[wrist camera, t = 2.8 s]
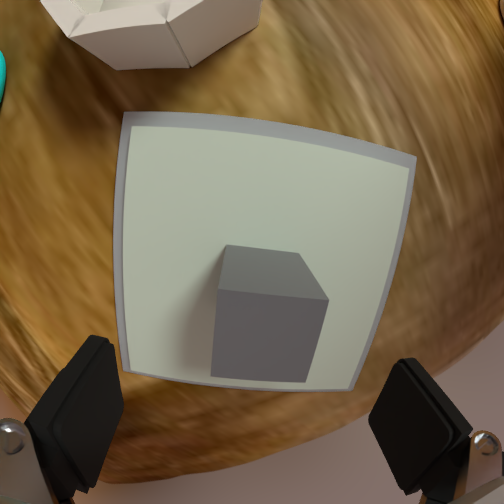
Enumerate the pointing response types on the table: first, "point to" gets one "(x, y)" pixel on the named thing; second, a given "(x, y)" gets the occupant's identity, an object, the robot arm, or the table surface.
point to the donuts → (2, 74)
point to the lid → (254, 256)
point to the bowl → (153, 29)
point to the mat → (256, 129)
